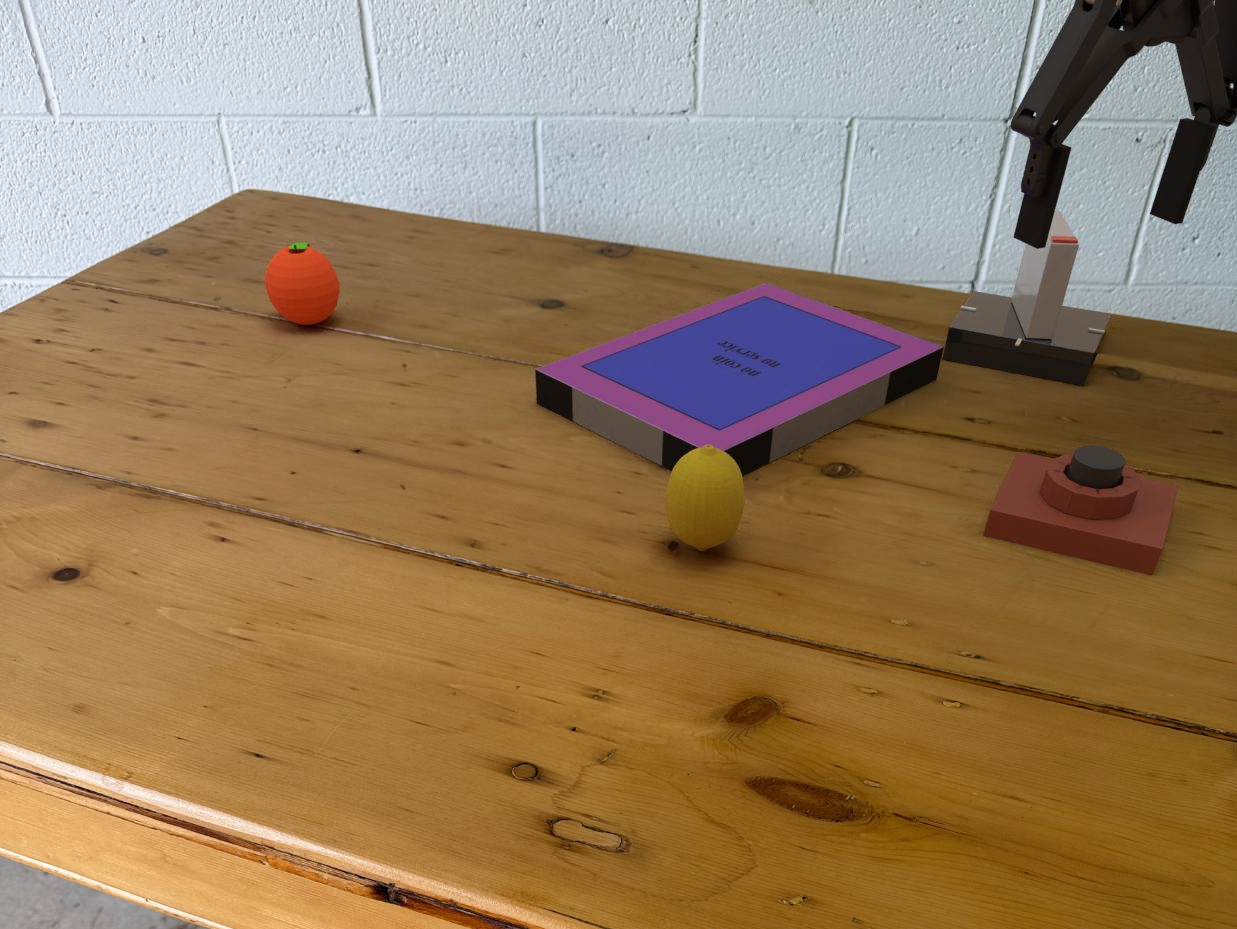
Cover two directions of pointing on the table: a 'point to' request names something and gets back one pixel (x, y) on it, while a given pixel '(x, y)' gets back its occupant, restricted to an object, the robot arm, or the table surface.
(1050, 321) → the grey panel on base
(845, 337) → the book
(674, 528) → the lemon
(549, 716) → the table surface
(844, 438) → the table surface
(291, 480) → the table surface
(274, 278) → the clementine
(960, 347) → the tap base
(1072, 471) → the button
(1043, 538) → the switch block
